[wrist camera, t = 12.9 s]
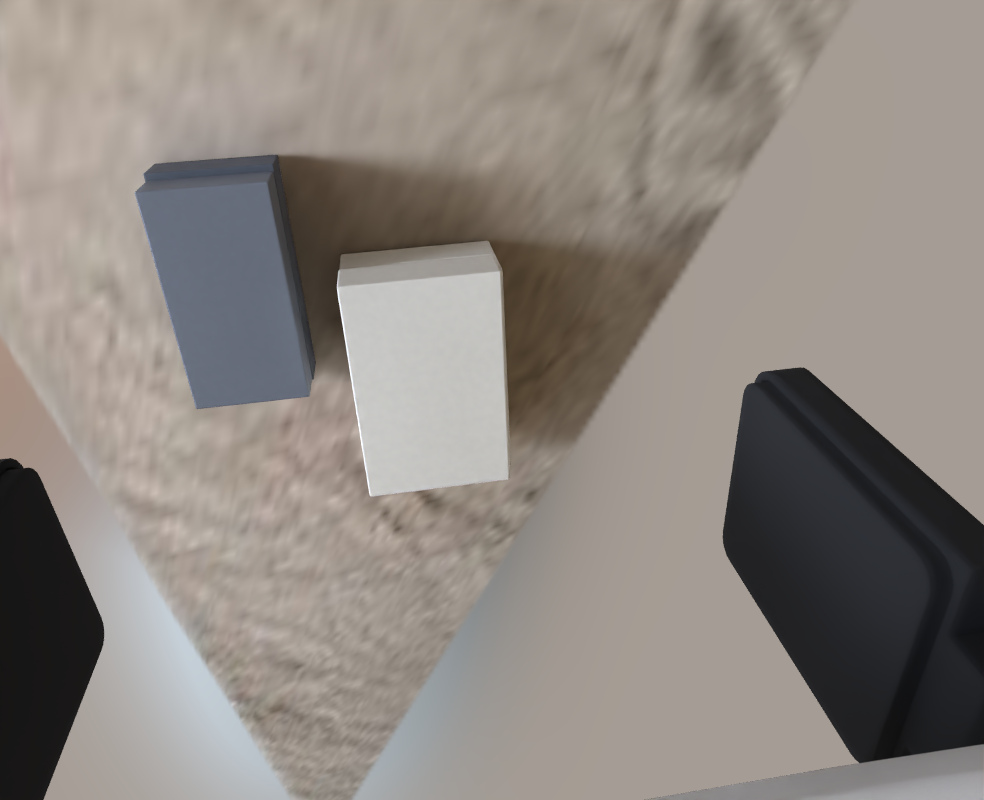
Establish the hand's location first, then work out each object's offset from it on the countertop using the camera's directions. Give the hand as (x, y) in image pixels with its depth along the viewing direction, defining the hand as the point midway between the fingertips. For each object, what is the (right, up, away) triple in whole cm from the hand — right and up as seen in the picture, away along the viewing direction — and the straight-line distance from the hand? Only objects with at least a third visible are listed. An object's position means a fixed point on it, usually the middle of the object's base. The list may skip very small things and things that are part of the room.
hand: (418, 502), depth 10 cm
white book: (-2, +3, +26) cm, 26 cm away
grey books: (-11, +8, +26) cm, 30 cm away
